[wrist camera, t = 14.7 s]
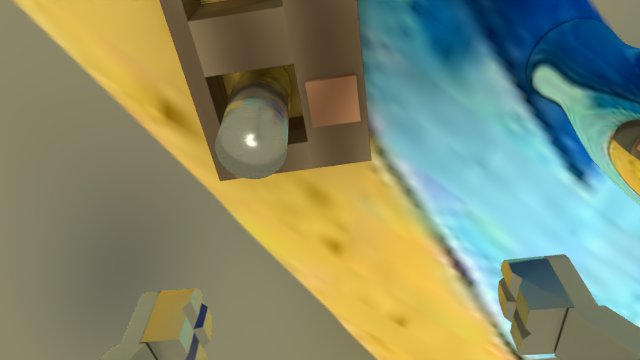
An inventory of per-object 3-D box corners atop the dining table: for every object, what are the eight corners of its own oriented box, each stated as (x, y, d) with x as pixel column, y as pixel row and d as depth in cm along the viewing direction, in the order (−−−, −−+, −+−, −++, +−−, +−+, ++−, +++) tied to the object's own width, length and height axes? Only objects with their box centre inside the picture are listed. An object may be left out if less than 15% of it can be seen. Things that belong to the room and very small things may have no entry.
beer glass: (501, 59, 32) (626, 180, 19) (595, -12, 29) (809, 75, 17) (546, 122, 35) (678, 261, 22) (635, 63, 32) (840, 183, 20)
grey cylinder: (285, 55, 31) (279, 112, 24) (295, 106, 33) (292, 174, 26) (229, 63, 31) (206, 123, 24) (243, 114, 34) (225, 183, 26)
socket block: (335, -174, 24) (340, -182, 20) (365, 132, 35) (372, 162, 31) (138, -138, 25) (110, -140, 21) (227, 152, 35) (219, 183, 32)
